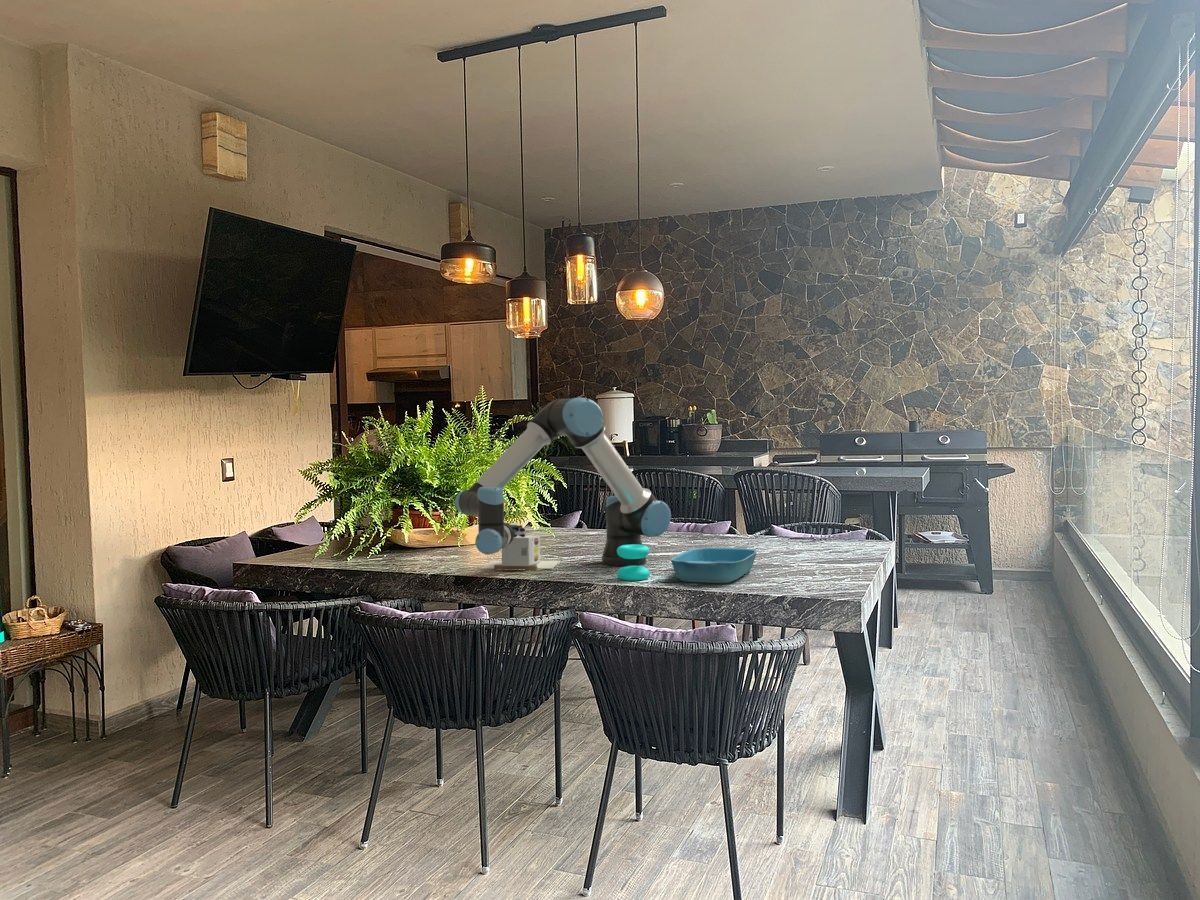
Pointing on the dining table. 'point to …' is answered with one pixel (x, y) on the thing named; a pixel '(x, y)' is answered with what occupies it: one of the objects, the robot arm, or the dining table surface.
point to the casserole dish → (713, 564)
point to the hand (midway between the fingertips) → (516, 526)
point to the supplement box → (522, 551)
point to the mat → (532, 567)
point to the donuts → (633, 571)
